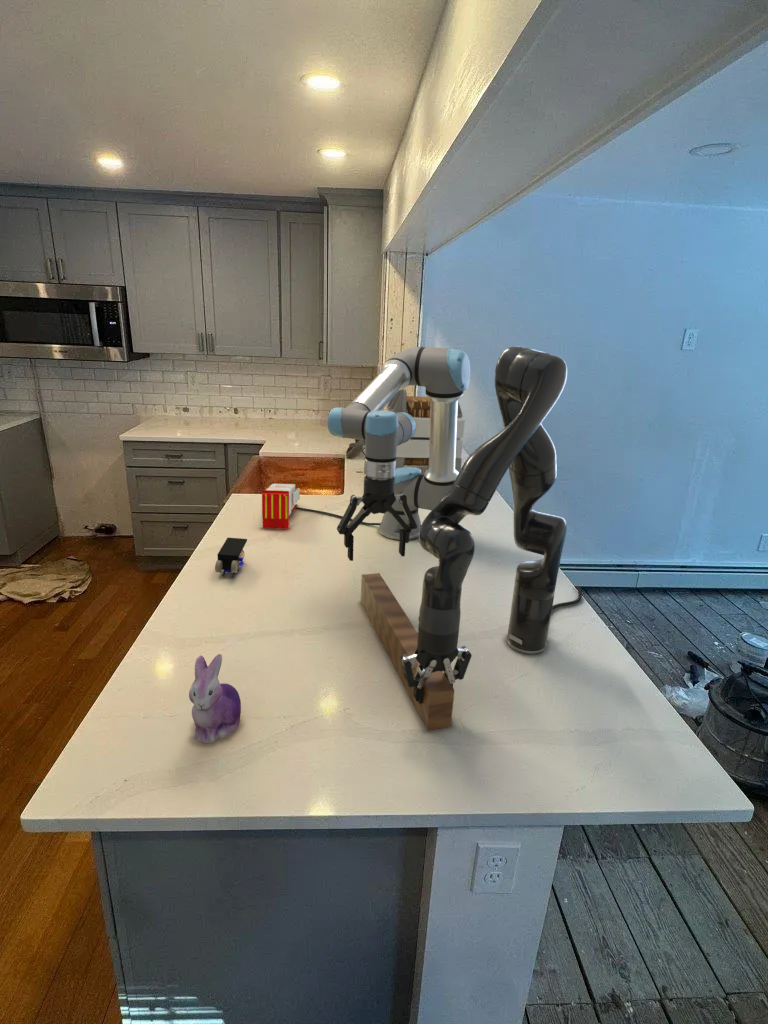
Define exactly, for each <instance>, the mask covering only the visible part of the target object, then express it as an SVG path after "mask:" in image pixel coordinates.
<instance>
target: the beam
mask: <svg viewBox="0 0 768 1024" xmlns="http://www.w3.org/2000/svg"><path fill="white" fill-rule="evenodd" d="M360 604H361V606H362V608H363V610H364V612H365V614H366V616H367V618H368V619H369V622H370V624H371V625H372V627H373V629H374V631H375V633H376V635H377V638H378V639H379V641H380V643H381V645H382V647H383V648H384V651H385V652H386V654H387V656H388V659H389V660H390V662H391V664H392V666H393V668H394V670H395V672H396V674H397V675H398V678H399V680H400V682H401V683H402V685H403V687H404V689H405V691H406V693H407V695H408V697H409V699H410V701H411V702H412V705H413V706H414V708H415V711H416V713H417V715H418V716H419V718H420V720H421V723H422V724H423V726H424V727H425V729H426V731H433V730H438V729H444V728H449V727H451V726H452V717H453V707H454V698H455V689H454V686H453V687H452V685H451V684H450V682H449V681H448V679H447V678H446V676H445V674H444V671H436V672H433V673H431V675H430V677H429V679H427V680H426V682H425V684H424V686H423V687H424V695H423V703H421V704H419V703H418V701H416V700H415V698H414V696H413V691H414V686H413V687H409V685H408V683H407V681H406V680H405V677H404V672H403V668H402V663H401V659H400V657H401V655H403V654H405V655H406V656H410V655H413V654H414V653H415V651H416V649H417V640H418V630H417V629H416V628H415V626H414V624H413V623H412V621H411V620H410V618H409V617H408V615H407V613H406V612H405V611H404V609H403V608H402V606H401V604H400V603H399V601H398V600H397V598H396V596H395V595H394V593H393V592H392V590H391V588H390V587H389V586H388V584H387V582H386V581H385V579H384V578H383V576H382V575H381V573H380V572H377V573H366V574H365V573H364V574H361V587H360ZM418 664H419V662H418V661H415V662H414V668H412V673H413V677H414V676H415V674H416V672H417V666H418Z"/></svg>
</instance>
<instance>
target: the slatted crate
mask: <svg viewBox="0 0 768 1024" xmlns="http://www.w3.org/2000/svg"><path fill="white" fill-rule="evenodd" d="M407 394H408V393H407V390H406V389H405V388H404V389H402V390H399V391H398V392H397V393H396V394H395V396H394V397H393V398H392V399H391V400H390V401H389V403H388V404H387V405H386V411H391V412H395V413H397V412H399V413H400V412H404V413H408V414H409V415H411V416H412V417H413V419H414V421H415V423H416V431H415V434H414V435H413V437H412V438H410V439H409V440H408V441H407V442H405V443H403V444H400V445H398V446H397V452H396V469H397V468H403V467H405V466H406V467H417V466H418V467H429V443H430V398H429V397H428V396H415V395H414V396H413V395H412V396H411V395H407ZM464 429H465V419H464V418H463V411H462V408H461V405H460V402H459V401H458V413H457V435H456V458H455V469H456V470H457V471H458V472H460V470H461V468H462V461H463V460H462V453H463V442H464V441H463V440H462V439H463V438H464V431H465V430H464Z"/></svg>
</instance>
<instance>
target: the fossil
mask: <svg viewBox="0 0 768 1024" xmlns="http://www.w3.org/2000/svg"><path fill="white" fill-rule="evenodd" d="M354 441H355V442H350V443H349V444H348V447H347V449H346V451H345V452H346V453H345V457H346V458H347V459H353V458H355V457H357V456H359V455H360V454H363V455H364V456H365V440H359V439H354Z"/></svg>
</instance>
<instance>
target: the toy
mask: <svg viewBox="0 0 768 1024" xmlns="http://www.w3.org/2000/svg"><path fill="white" fill-rule="evenodd" d="M300 499H301V490H300V487H298V488H297V489H296V484H295V483H272V484H270V485H269V486H268V488H266V489H262V491H261V519H262V529H282V530H283V529H284V530H285V529H286V530H289V529H290V515H291V513H294V512H295V510H297V509H296V507H298V504H297V503H298V502H299V501H300Z"/></svg>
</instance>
